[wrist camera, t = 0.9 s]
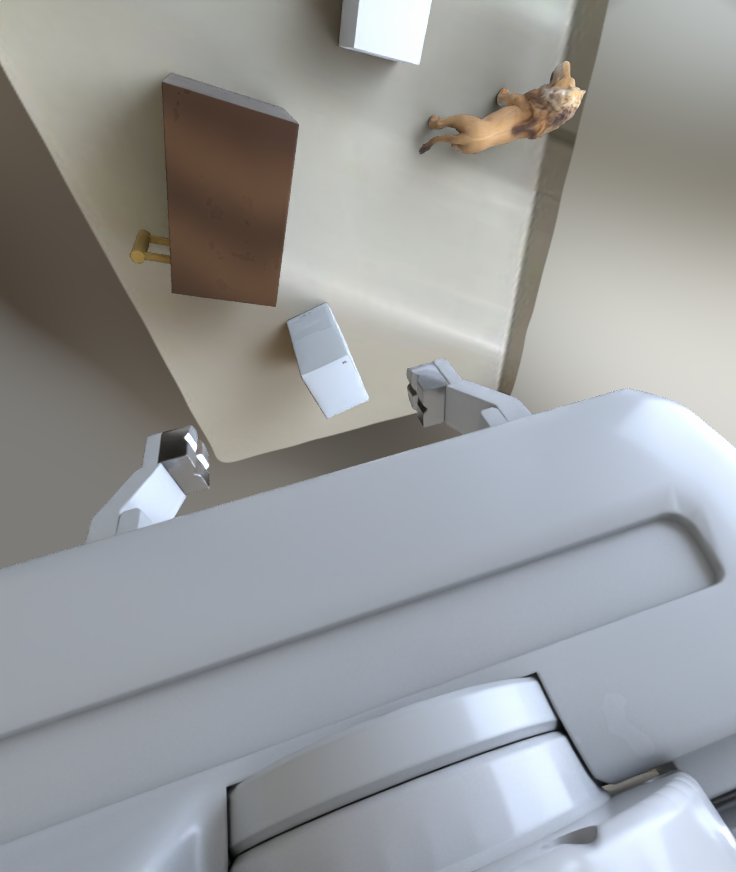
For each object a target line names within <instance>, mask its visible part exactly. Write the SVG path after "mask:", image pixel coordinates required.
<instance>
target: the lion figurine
mask: <svg viewBox="0 0 736 872" xmlns="http://www.w3.org/2000/svg"><path fill="white" fill-rule="evenodd" d="M584 93H585V90H584V91H582V90H580V89H579V88H578V87H575V80H574V79H573V78H571V77H570V63H569V62H567V61H565V62H563V63H562V64H561V65H558V66H557V67H556V68H555V70H554V71H553V72H552V74H551V79H550V83H549V84H544V85H543V86H541V87H540V88H539V89H534V90H531V91H529V92H527V93H525V94H524V95H521V94H511V95H509V92H508V90H507V89H505V88H502V89H501V90H500V92H499V94H498V96H497V103H498V105H500V106H502V107H504V106H506V107H504V108H502V109H500V110H498V111H495V112H493V113H491V114H489V115H487V116H486V117H484V118H483V119H482V120H481V119H479V118H477V117H475V116H471V115H455V116H451V117H448V118H445V119H440V118H439V116H437V115H434V116H432V117H431V118H430V120H429V126H430V128H431V129H442V128H444V127H451V128H455V129H456V130H457V131H458V132H459V133H460V134H459V135H455V136H450V135H444V136H437V137H435V138H433V139H432V140H430V141H429V142H428V143H426V144H424V145H423V146H422V147H421V148H420V150H419V153H420V154H423V153H424V152H426V151H428V150H429V149H430V148H431V146H432V145H433V144H435V143H437V142H449V143H451V147H452V148H453V149H455V150H457V151H460V150H461V151H462V152H463V153H464V154H475V153H478V152H481V151H484V150H486V149H487V148H489V147H492V146H497V145H502V144H506V143H509V142H512V141H514V140H516V139H519V138H528V139H536V138H540V137H542V136H543V135H544V134H545V133H548V132H551V131H552V130H554V129H557V128H559V126H560V125H562V124H564V123H565V122H566V121H567V120H568V119H570V118H571V117H572V116H573V115H574V113H575V111H576V109H577V108H578V107H579V105H580V103H581V99H582V96H583V95H584Z"/></svg>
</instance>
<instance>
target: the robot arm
mask: <svg viewBox="0 0 736 872" xmlns="http://www.w3.org/2000/svg"><path fill="white" fill-rule="evenodd" d="M407 379H408V380H409V382H410V383H409V385H408V386H407V391H408V397H409V401H410V403H411V406H412V407H413V409H414V410H416V411H417V415H418V418H419V420H420V422H421V423H422V425H423V427H428V426H431V425H436V424H440V423H445V424H447V425H448V426H450V427H452V428H453V429H455V430H457V431H459V432H460V433H462V434H464V435H461V436H457V437H454V438H450V439H447V440H443V441H440V442H437V443H434V444H430V445H426V446H423V447H419V448H416V449H412V450H409V451H405V452H402V453H399V454H396V455H392V456H388V457H385V458H382V459H378V460H374V461H371V462H367V463H364V464H361V465H357V466H354V467H350V468H347V469H343V470H340V471H336V472H333V473H330V474H326V475H322V476H319V477H315V478H312V479H309V480H305V481H302V482H298V483H295V484H291V485H288V486H284V487H281V488H277V489H274V490H270V491H267V492H263V493H260V494H256V495H253V496H250V497H246V498H243V499H239V500H236V501H232V502H229V503H225V504H222V505H218V506H215V507H211V508H208V509H205V510H201V511H198V512H194V513H191V514H187V515H184V516H180V517H177V518H174V516H175V515H176V513H177V511H178V510H179V508H180V506H181V504H182V503H183V501H184V500H185V498H186V495H189V494H192V493H195V492H198V491H202V490H205V489H208V488H209V473H208V472H207V470H206V469H207V468H208V466H209V456H208V452H207V449H206V447H205V445H204V443H203V442H202V441H200V440H198V439H197V432H196V430H195V429H194V427H193V426H187V427H182V428H178V429H174V430H170V431H166V432H163V433H158V434H154V435H150V436H148V438H147V439H146V445H145V450H144V456H143V462H142V467H141V469H138V470H136V471H135V473H134V474H133V475H132V476H131V477H130V478H129V479H128V480H127V481H126V483H124V485H123V486H122V487H121V488H120V489H119V490H118V491H117V492H116V493H115V494H114V495H113V496H112V498H111V499H110V500H109V501H108V502H107V503H106V504H105V505H104V506H103V507H102V508H101V509H100V511H99V512H98V513H97V514H96V515H95V516H94V517H93V518H92V519H91V522H90V526H89V530H88V534H87V537H86V541H85V544H83V545H80V546H76V547H73V548H69V549H66V550H62V551H59V552H56V553H52V554H49V555H45V556H42V557H38V558H35V559H32V560H28V561H24V562H21V563H17V564H14V565H10V566H7V567H4V568H0V872H736V448H735V447H733V446H732V445H731V444H730V443H729V442H728V441H726V440H725V439H724V438H723V437H722V436H721V435H720V434H718V433H717V432H716V431H715V430H714V429H713V428H711V427H710V426H709V425H708V424H707V423H705V422H704V421H703V420H702V419H701V418H699V417H698V416H697V415H696V414H694V413H693V412H692V411H691V410H689V409H688V408H686V407H685V406H683V405H682V404H680V403H678V402H676V401H673V400H670V399H666V398H664V397H660V396H657V395H653V394H650V393H646V392H643V391H638V390H634V389H621V390H616V391H613V392H609V393H606V394H603V395H599V396H596V397H592V398H589V399H585V400H582V401H578V402H575V403H571V404H568V405H565V406H561V407H558V408H555V409H551V410H547V411H544V412H540V413H537V414H534V415H532V414H531V413H530V412H529V411H528V410H527V409H526V408H525V406H524V405H523V404H522V403H521V402H520V401H519V400H518V399H516V398H514V397H511V396H508V395H505V394H503V393H500V392H497V391H494V390H492V389H489V388H486V387H483V386H481V385H478V384H475V383H472V382H470V381H467V380H465V381H462V379H461V378H460V377H459V376H458V374H457V373H456V372H455V370H454V369H453V368H452V367H451V365H450V364H449V363H448V361H447V360H446V359H444V358H442V359H439V360H436V361H432V362H430V363H426V364H423V365H419V366H415V367H411V368H408V369H407ZM654 768H655V769H656V771H657V772H651V773H647V774H643V775H640V774H642V773H644V772H647V771H650V770H652V769H654ZM638 775H639V776H638ZM605 785H607V786H605ZM602 786H605V787H602Z"/></svg>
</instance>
